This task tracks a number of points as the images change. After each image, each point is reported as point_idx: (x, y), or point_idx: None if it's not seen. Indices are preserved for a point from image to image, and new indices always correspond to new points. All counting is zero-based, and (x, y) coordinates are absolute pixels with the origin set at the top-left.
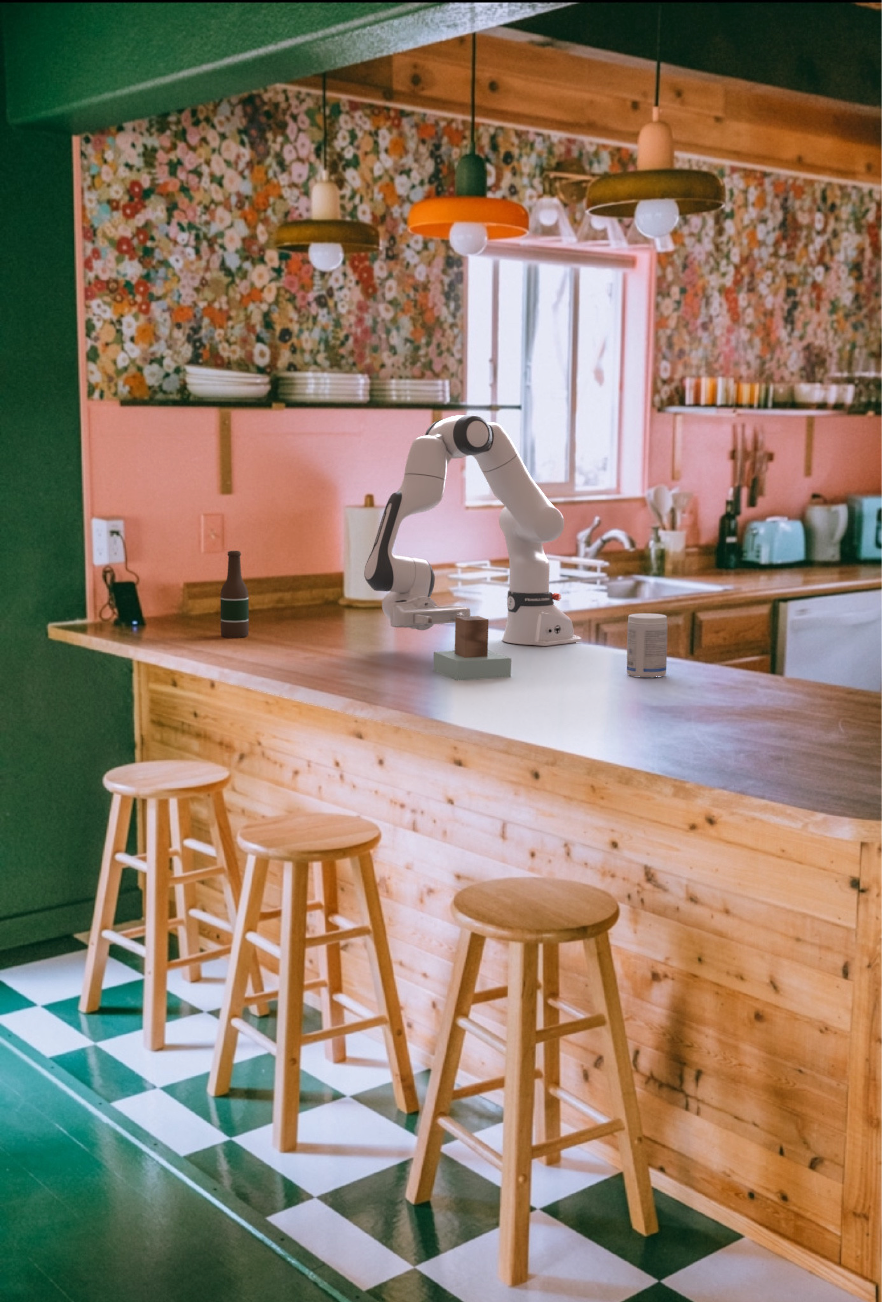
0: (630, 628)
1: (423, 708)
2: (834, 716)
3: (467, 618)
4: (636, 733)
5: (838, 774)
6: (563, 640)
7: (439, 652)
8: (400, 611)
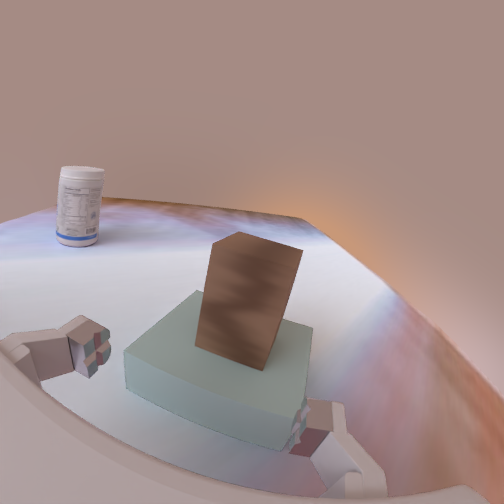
0: (95, 186)
1: (398, 307)
2: (165, 205)
3: (278, 251)
4: (289, 239)
5: (267, 215)
6: None
7: (288, 406)
8: (486, 500)
